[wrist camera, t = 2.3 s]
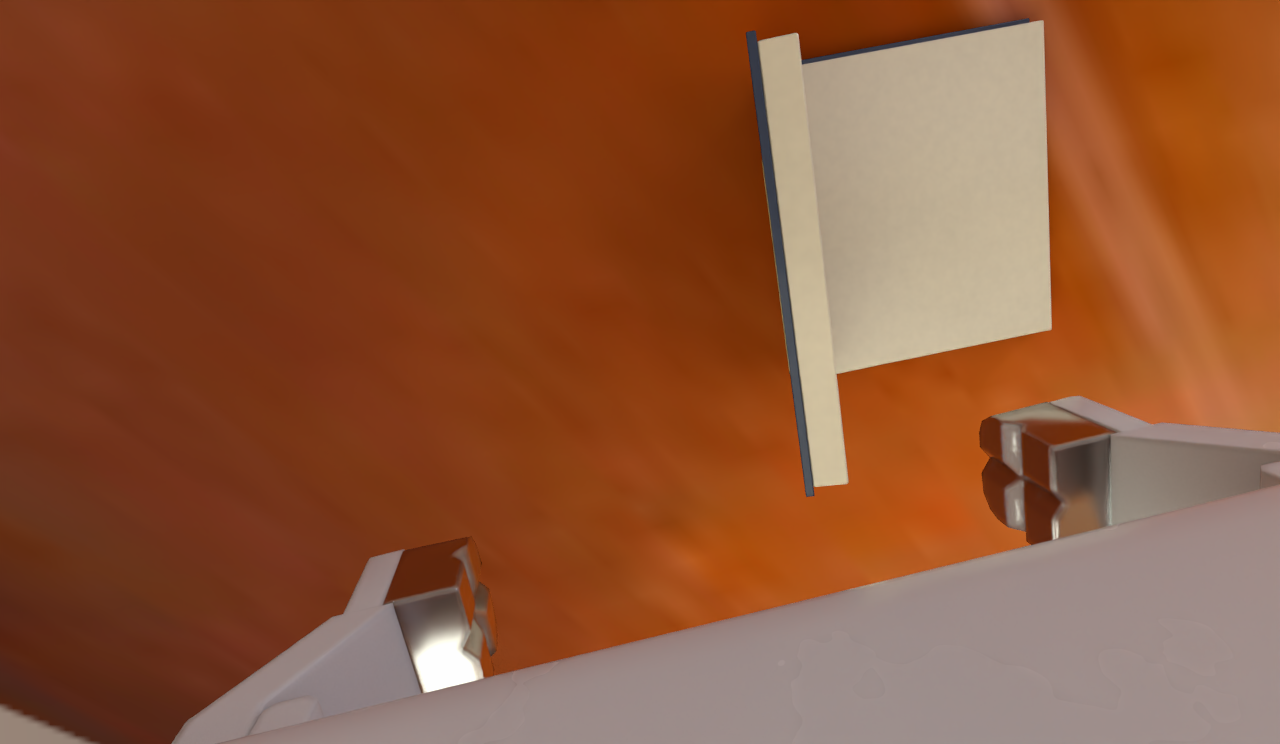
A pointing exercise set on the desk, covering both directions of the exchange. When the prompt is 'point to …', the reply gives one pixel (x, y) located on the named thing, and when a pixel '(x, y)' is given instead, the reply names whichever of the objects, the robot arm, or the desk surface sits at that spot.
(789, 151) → the book cover
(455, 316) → the desk surface
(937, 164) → the book
